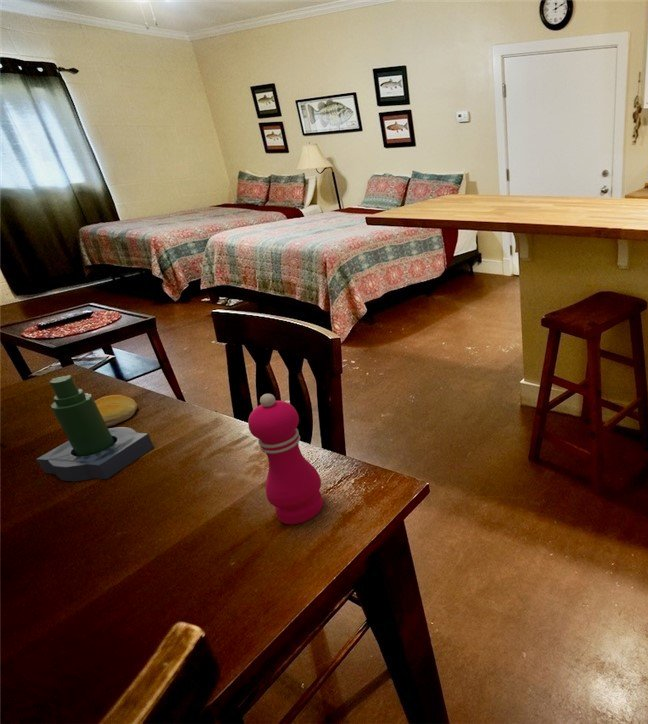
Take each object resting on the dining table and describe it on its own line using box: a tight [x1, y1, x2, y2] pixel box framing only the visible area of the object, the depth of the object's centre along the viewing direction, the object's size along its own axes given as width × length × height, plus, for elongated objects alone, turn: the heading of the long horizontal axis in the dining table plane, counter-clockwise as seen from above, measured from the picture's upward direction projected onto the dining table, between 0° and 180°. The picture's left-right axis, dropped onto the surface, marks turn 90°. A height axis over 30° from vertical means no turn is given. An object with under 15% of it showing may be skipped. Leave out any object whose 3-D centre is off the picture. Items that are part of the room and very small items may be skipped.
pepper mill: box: [247, 393, 324, 525], centre depth 67 cm, size 7×7×20 cm
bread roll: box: [94, 394, 138, 428], centre depth 94 cm, size 8×9×4 cm
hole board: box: [36, 426, 155, 483], centre depth 82 cm, size 12×11×3 cm
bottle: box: [49, 375, 115, 457], centre depth 79 cm, size 5×5×16 cm
